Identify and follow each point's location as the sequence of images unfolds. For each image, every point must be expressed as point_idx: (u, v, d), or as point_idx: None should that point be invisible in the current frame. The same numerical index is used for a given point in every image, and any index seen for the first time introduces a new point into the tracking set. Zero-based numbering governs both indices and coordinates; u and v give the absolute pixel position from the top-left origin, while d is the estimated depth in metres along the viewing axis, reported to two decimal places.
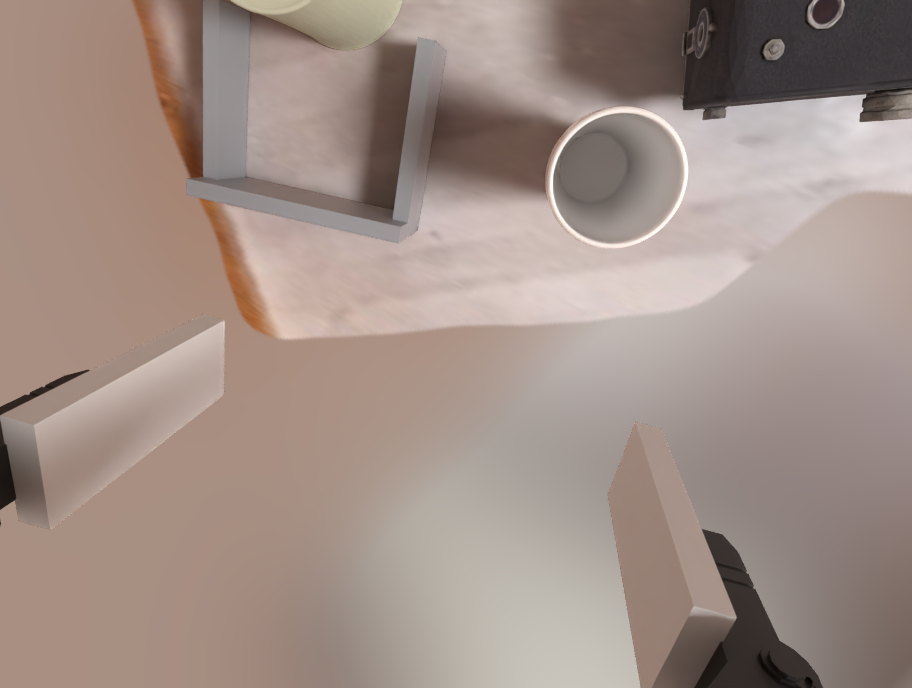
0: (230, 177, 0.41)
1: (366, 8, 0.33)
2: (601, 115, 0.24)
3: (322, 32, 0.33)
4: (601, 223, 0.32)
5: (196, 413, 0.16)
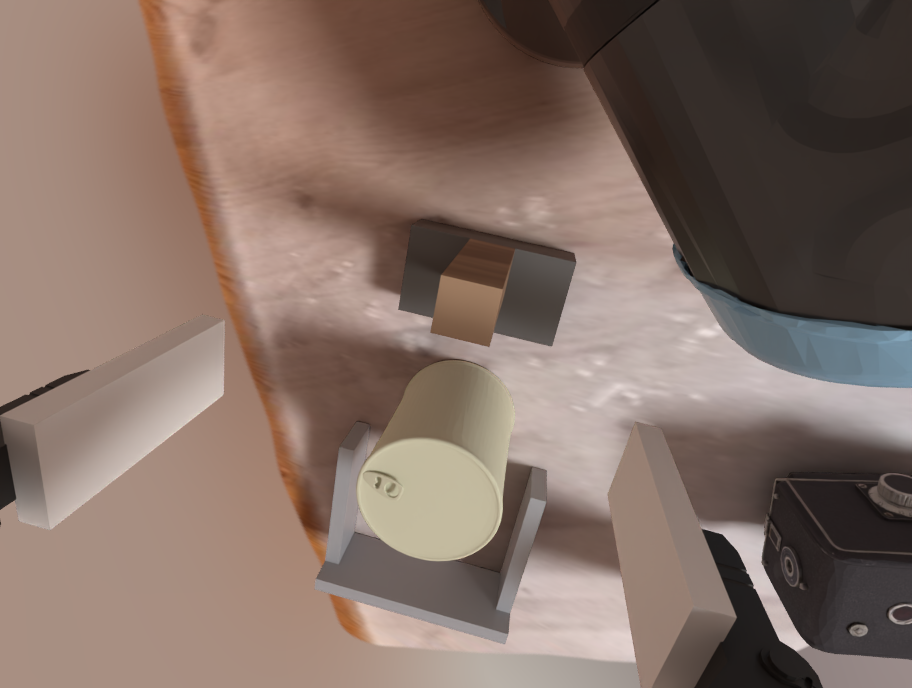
0: (345, 549, 0.46)
1: None
2: None
3: None
4: None
5: (196, 413, 0.16)
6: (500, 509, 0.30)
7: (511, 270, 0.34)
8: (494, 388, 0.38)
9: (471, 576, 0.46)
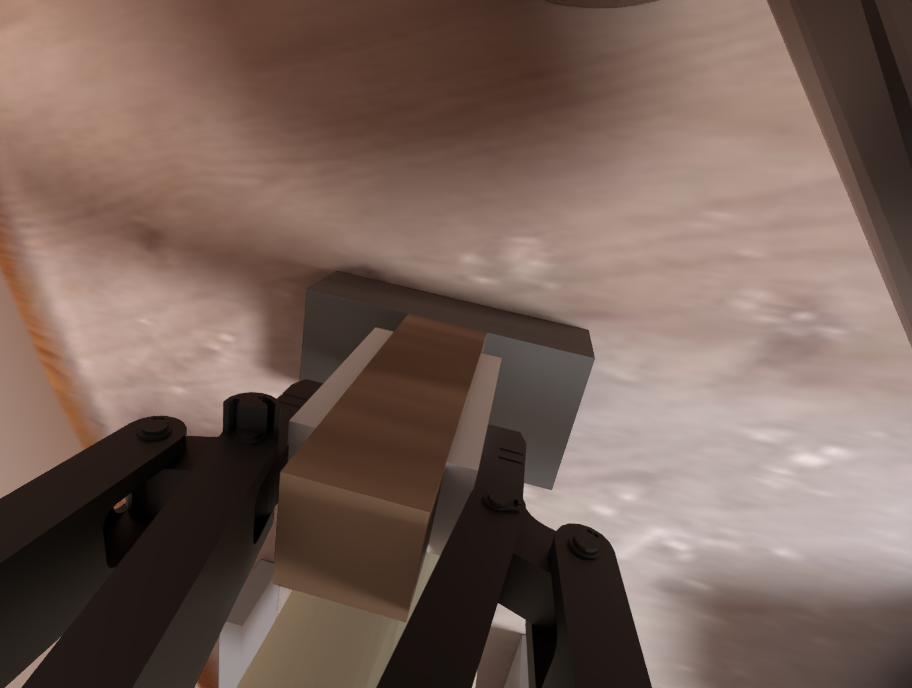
0: None
1: None
2: None
3: None
4: None
5: None
6: None
7: None
8: None
9: None
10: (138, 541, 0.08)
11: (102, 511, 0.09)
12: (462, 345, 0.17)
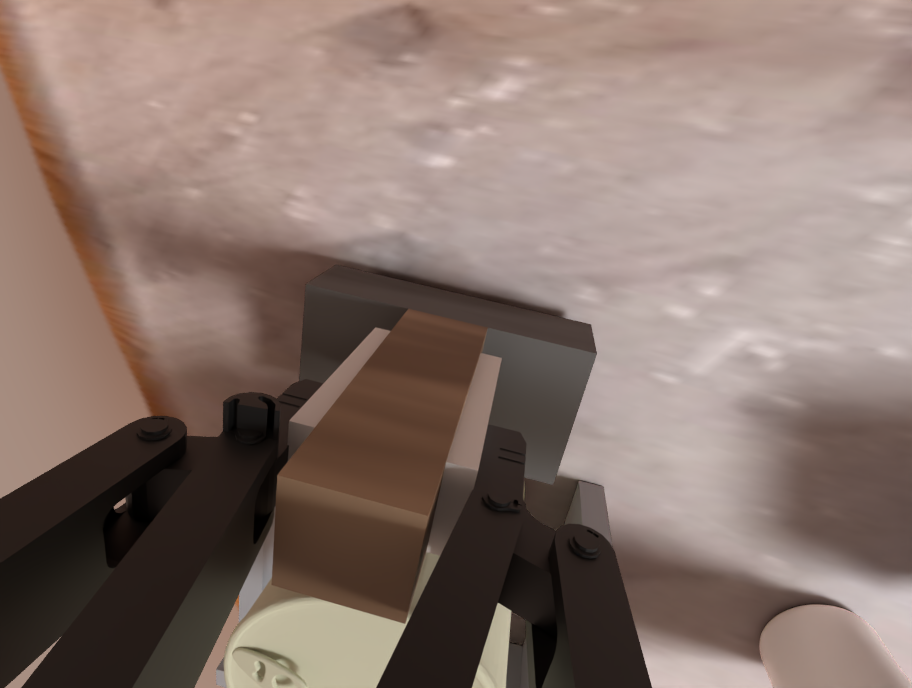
0: None
1: None
2: None
3: None
4: None
5: None
6: None
7: None
8: None
9: None
10: (138, 541, 0.08)
11: (102, 510, 0.09)
12: (462, 341, 0.17)
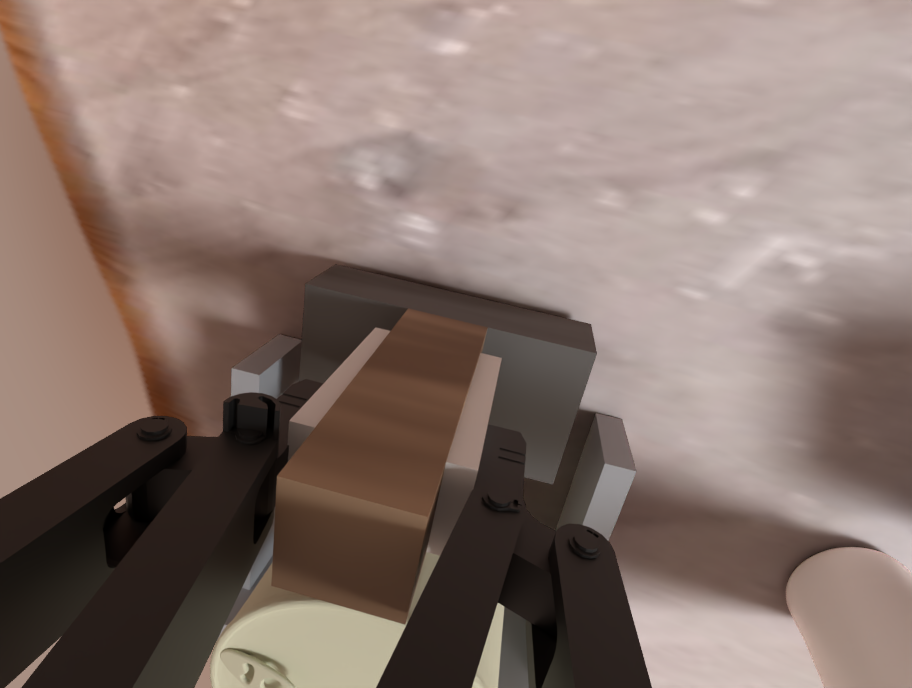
0: (267, 562, 0.27)
1: None
2: None
3: None
4: None
5: None
6: None
7: None
8: None
9: None
10: (138, 541, 0.08)
11: (102, 511, 0.09)
12: (462, 341, 0.17)
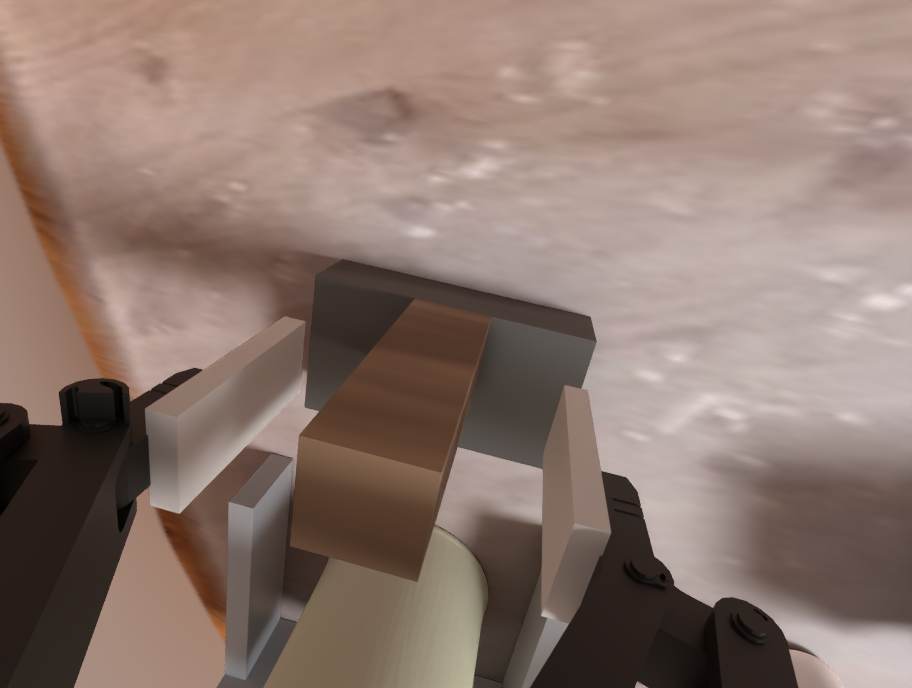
0: (261, 650, 0.30)
1: None
2: None
3: None
4: None
5: (280, 409, 0.17)
6: None
7: (485, 351, 0.20)
8: (458, 571, 0.26)
9: None
10: None
11: None
12: (468, 327, 0.18)
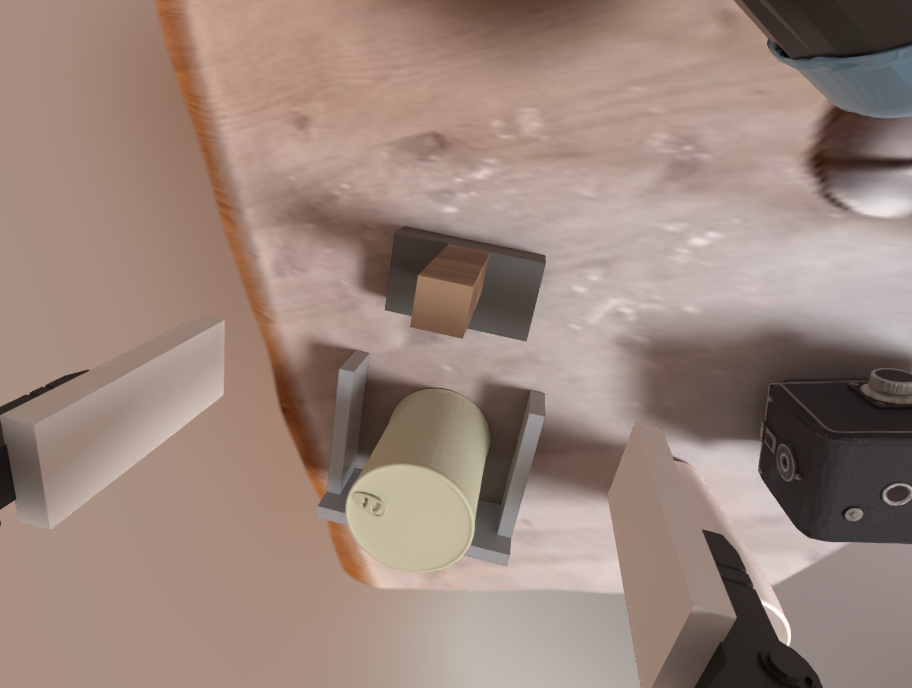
0: (346, 482, 0.46)
1: None
2: None
3: None
4: None
5: (196, 413, 0.16)
6: (473, 528, 0.35)
7: (487, 272, 0.37)
8: (472, 415, 0.43)
9: None
10: None
11: None
12: (478, 254, 0.35)
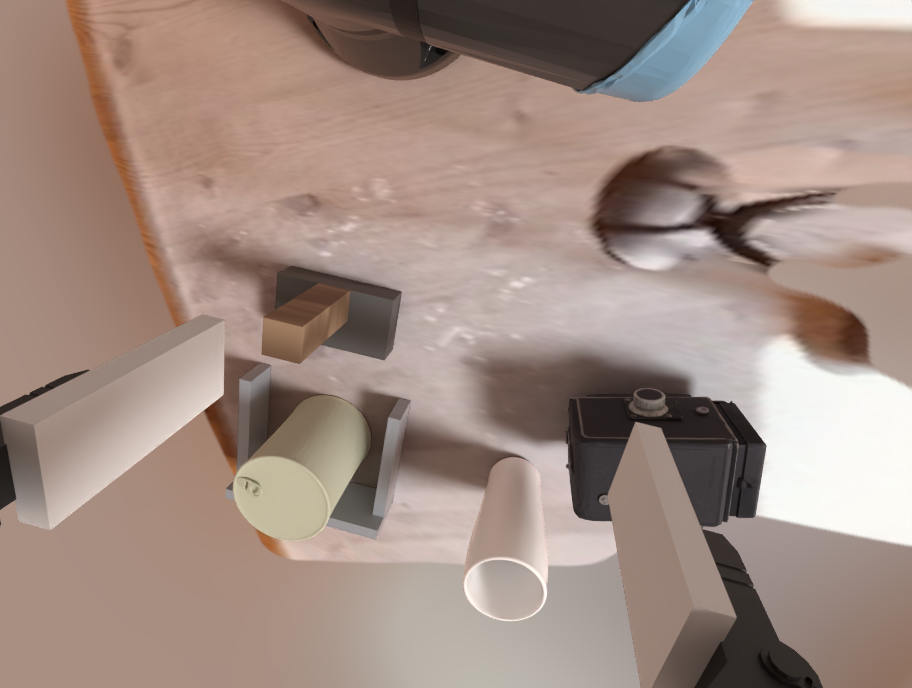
0: None
1: None
2: (492, 560, 0.39)
3: None
4: None
5: (196, 413, 0.16)
6: (328, 506, 0.45)
7: (349, 305, 0.47)
8: (351, 418, 0.53)
9: (358, 492, 0.56)
10: None
11: None
12: (336, 293, 0.45)
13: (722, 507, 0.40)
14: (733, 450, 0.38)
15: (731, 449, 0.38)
